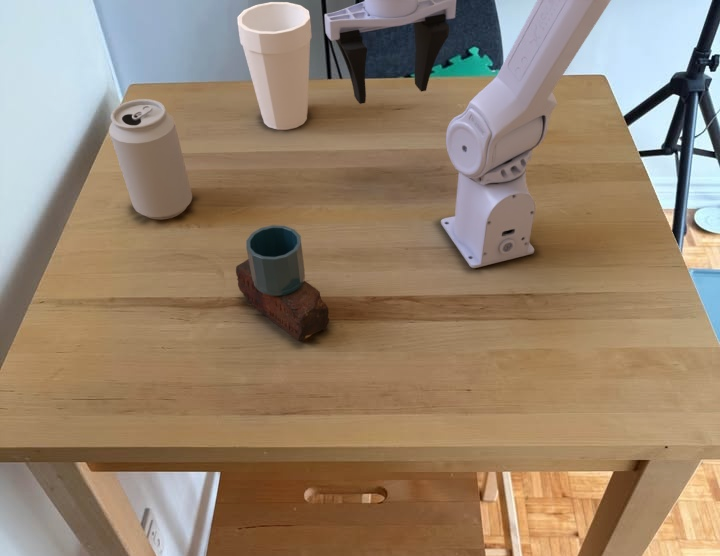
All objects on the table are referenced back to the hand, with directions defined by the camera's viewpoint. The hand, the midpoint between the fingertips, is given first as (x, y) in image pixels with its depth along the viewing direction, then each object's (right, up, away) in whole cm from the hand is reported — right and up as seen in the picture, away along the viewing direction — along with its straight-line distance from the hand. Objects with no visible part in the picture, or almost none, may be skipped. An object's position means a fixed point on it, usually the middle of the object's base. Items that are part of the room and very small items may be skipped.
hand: (390, 93), depth 84 cm
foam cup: (-14, +6, +18) cm, 24 cm away
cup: (-12, -25, -10) cm, 29 cm away
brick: (-12, -28, -6) cm, 31 cm away
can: (-28, -11, +6) cm, 31 cm away
